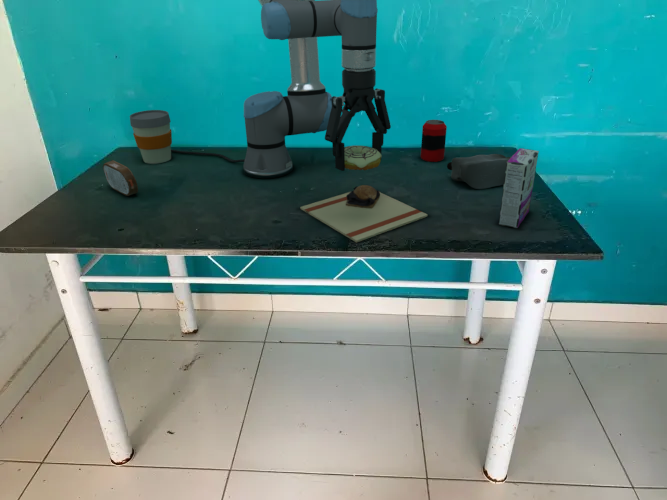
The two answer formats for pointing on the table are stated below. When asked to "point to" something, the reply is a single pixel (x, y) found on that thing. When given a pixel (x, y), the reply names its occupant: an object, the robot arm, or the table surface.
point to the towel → (363, 216)
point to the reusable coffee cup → (152, 135)
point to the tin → (120, 178)
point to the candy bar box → (518, 187)
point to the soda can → (433, 140)
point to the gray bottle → (479, 170)
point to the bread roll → (363, 197)
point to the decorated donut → (361, 157)
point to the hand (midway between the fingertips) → (358, 164)
